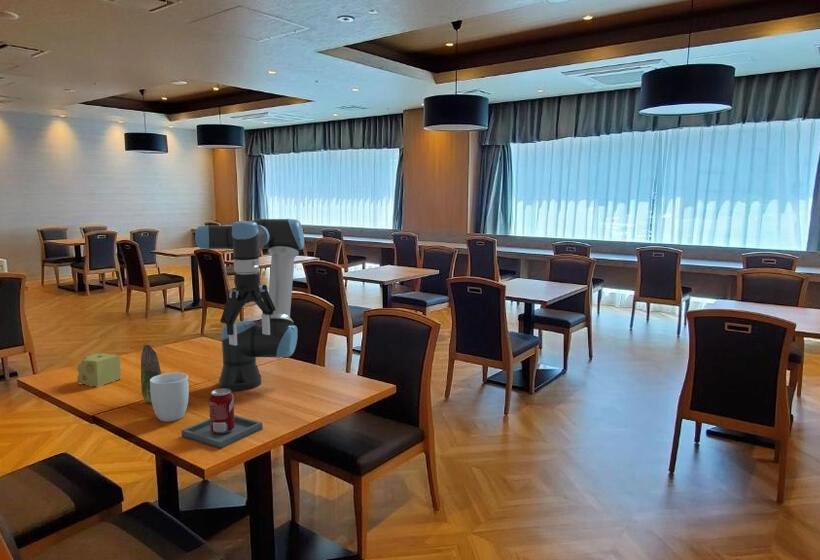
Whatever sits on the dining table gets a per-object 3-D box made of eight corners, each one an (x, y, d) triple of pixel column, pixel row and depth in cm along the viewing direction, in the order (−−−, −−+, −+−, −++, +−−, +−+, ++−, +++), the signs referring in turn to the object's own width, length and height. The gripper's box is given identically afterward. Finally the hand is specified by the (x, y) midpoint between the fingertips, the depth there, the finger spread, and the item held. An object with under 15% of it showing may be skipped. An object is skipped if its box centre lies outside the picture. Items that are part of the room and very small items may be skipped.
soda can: (227, 436, 162) (225, 396, 160) (206, 434, 163) (204, 394, 161) (239, 427, 168) (237, 388, 167) (218, 425, 170) (216, 387, 168)
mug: (140, 415, 179) (137, 375, 177) (173, 406, 187) (171, 367, 185) (162, 427, 169) (160, 385, 167) (196, 417, 178) (194, 377, 176)
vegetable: (142, 399, 193) (138, 342, 190) (162, 397, 195) (159, 341, 192) (142, 405, 187) (138, 347, 184) (162, 403, 190) (158, 345, 187)
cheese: (77, 384, 208) (75, 358, 207) (102, 376, 218) (101, 351, 217) (97, 388, 204) (95, 361, 203) (122, 379, 214) (120, 354, 213)
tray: (181, 436, 163) (181, 430, 162) (225, 418, 176) (224, 412, 176) (220, 449, 155) (219, 442, 154) (262, 429, 168) (262, 422, 168)
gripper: (222, 279, 160) (226, 351, 164) (284, 268, 181) (287, 331, 185) (205, 277, 164) (209, 347, 168) (268, 266, 185) (270, 328, 189)
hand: (250, 339), depth 176 cm, fingers open, 13 cm apart
